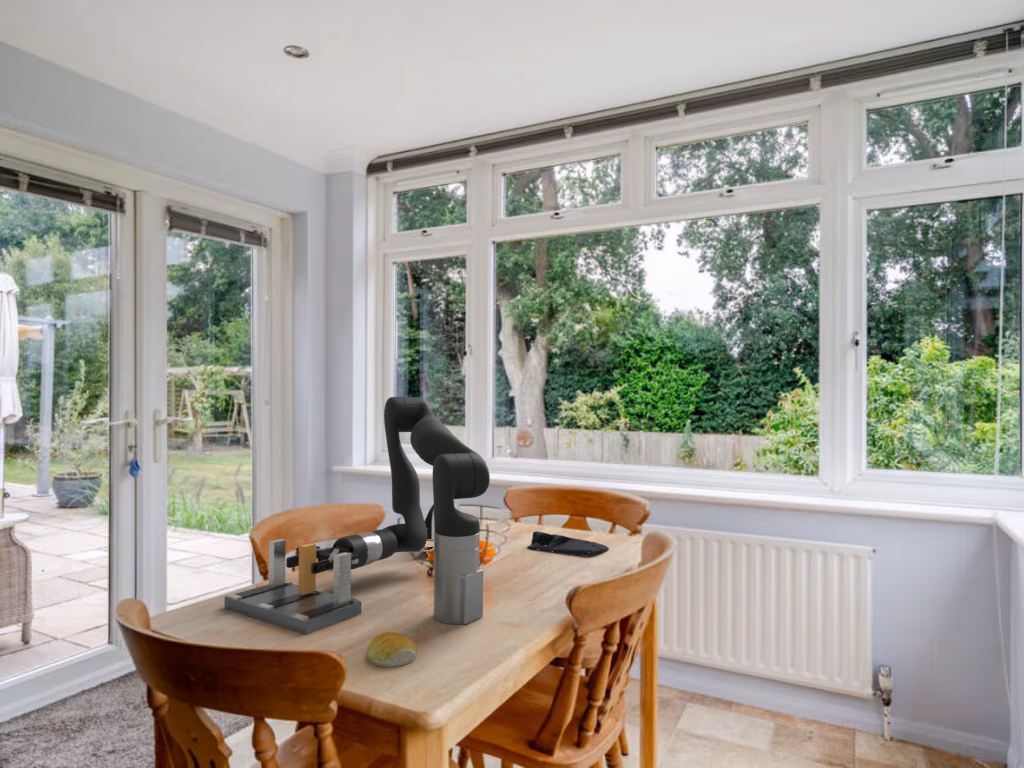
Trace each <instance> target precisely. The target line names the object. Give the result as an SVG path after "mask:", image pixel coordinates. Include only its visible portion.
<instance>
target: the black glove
mask: <svg viewBox="0 0 1024 768" xmlns="http://www.w3.org/2000/svg"><path fill="white" fill-rule="evenodd" d="M545 545H546V546H545ZM529 548H531V549H530V550H535V549H539V550H538V551H540V550H545V551H544V552H548V551H553V552H552V553H558V552H562V553H561V554H564V553H568V554H567V555H571V554H575V555H574V556H581V555H583V556H584V555H586V556H585V557H587V555H588V556H591V555H593V554H594V555H595V554H600V553H603V551H604V552H608V550H609V549H610V548H609V547H608V546H607V545H605V544H602V543H599V542H596V541H591V540H584V539H579V538H573V537H568V536H565V535H559V534H556V533H555V534H551V533H549V532H544V531H537V530H536V531H533V533H532V538H531V543H530V545H529V546H527V549H529Z"/></svg>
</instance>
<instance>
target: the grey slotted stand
mask: <svg viewBox="0 0 1024 768" xmlns="http://www.w3.org/2000/svg"><path fill="white" fill-rule="evenodd" d="M286 542H287V541H286V539H283V538H278V539H274V540H270V541H268V584H264V585H261V586H259V587H258V586H257V587H253V588H251V589H247V590H243V591H239V592H236V593H231V594H227V595H226V596H224V605H223V606H224V608H225V610H229V611H231V612H234V613H237V614H240V615H243V616H247V617H250V618H253V619H256V620H259V621H261V622H265V623H268V624H271V625H275V626H277V627H280V628H284V629H287V630H289V631H293V632H296V633H298V634H302V635H305V636H306V635H309V634H312V633H314V632H317V631H320V630H323V629H326V628H327V627H331V626H334V625H336V624H339V623H341V622H344V621H347V620H348V619H349V620H350V619H352V618H354V616H355V617H358V616H360V615H362V601H359V599H358V598H355V597H351V594H352V593H351V591H352V590H351V589H352V587H351V585H352V584H351V583H352V570H351V553H346V552H344V553H340V554H337V555H334V570H333V571H332V573H333V578H332V579H333V580H332V581H333V582H332V583H333V586H332V589H333V590H332V591H333V592H332V593H330V592H329V593H328V592H327V591H326V592H325V590H324V589H320V588H316V591H315V592H311V593H308V594H305V595H303V594H299V593H298V592H299V584H295V583H293V582H292V581H289V580H286V553H287V552H286V551H287V550H286V549H287V548H286V547H287V546H286V545H287V544H286ZM359 614H360V615H359ZM351 617H352V618H351Z"/></svg>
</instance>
